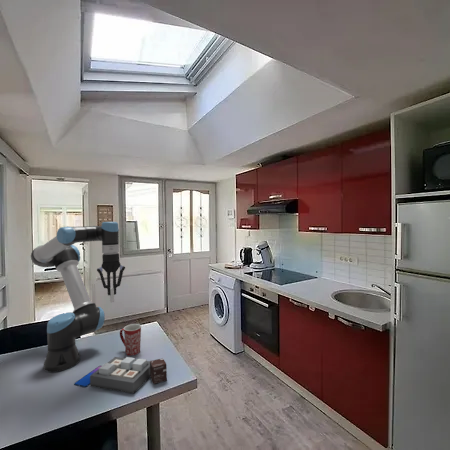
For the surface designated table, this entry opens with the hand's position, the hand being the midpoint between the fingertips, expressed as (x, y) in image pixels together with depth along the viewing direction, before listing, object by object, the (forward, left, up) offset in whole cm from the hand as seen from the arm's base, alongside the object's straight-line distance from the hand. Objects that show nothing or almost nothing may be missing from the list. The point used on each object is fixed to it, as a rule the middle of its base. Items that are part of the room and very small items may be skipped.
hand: (112, 301), depth 128 cm
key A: (+7, -7, -29) cm, 30 cm away
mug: (+1, +12, -31) cm, 33 cm away
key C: (+19, -13, -29) cm, 37 cm away
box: (+28, -7, -31) cm, 42 cm away
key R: (+13, -7, -27) cm, 31 cm away
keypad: (+13, -10, -30) cm, 35 cm away
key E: (+19, -7, -27) cm, 34 cm away
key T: (+13, -13, -29) cm, 34 cm away
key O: (+7, -13, -27) cm, 31 cm away
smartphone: (-2, -12, -31) cm, 33 cm away
